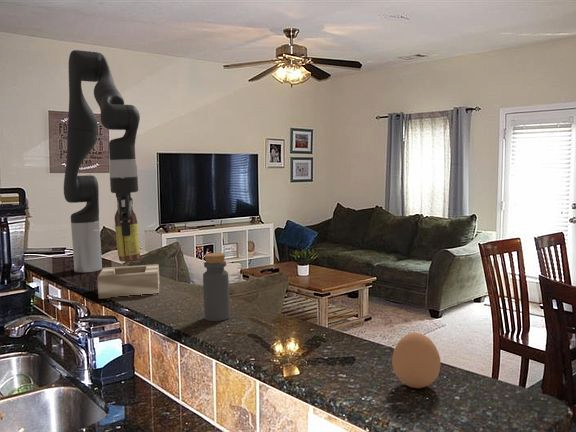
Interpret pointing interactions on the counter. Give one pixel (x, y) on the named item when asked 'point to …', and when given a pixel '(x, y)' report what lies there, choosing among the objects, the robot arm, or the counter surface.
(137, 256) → the sauce bottle
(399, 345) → the egg
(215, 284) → the bottle
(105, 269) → the dock block
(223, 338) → the counter surface
